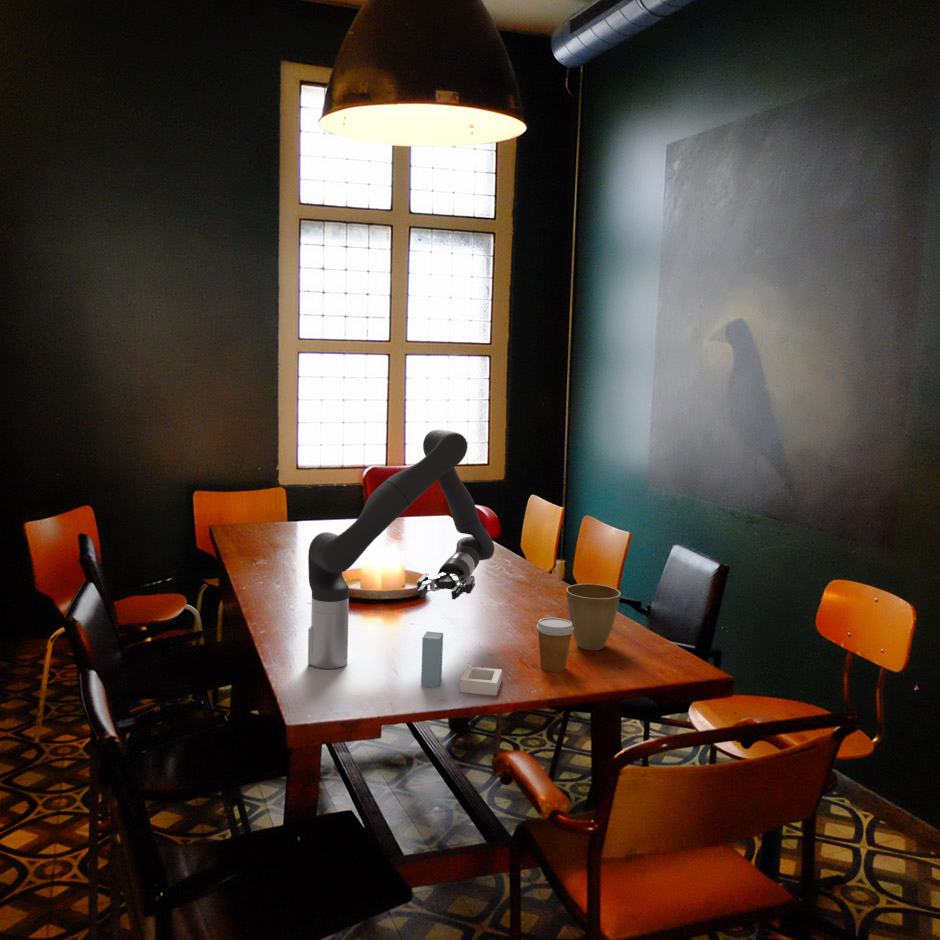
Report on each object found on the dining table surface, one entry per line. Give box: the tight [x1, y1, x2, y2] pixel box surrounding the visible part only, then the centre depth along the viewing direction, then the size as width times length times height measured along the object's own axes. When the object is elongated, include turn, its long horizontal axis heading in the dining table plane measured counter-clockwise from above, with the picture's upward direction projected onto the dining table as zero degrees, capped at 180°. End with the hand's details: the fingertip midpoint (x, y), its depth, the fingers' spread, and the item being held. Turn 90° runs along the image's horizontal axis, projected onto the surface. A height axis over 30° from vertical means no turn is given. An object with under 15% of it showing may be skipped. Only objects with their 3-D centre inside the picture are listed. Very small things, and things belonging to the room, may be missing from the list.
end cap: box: [459, 665, 503, 696], centre depth 209 cm, size 9×10×3 cm
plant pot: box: [565, 583, 621, 651], centre depth 242 cm, size 15×15×16 cm
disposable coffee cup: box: [536, 617, 574, 673], centre depth 224 cm, size 10×10×12 cm
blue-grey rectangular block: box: [420, 631, 444, 689], centre depth 210 cm, size 4×5×12 cm
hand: (436, 595), depth 216 cm, fingers open, 8 cm apart
